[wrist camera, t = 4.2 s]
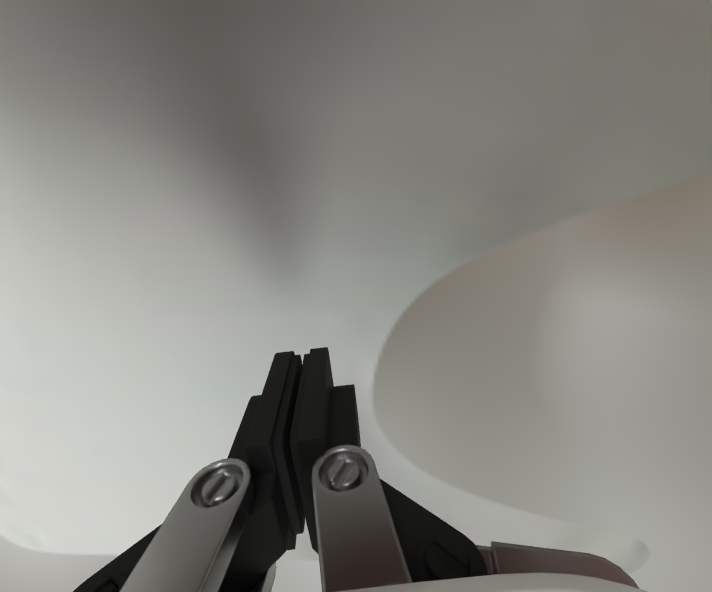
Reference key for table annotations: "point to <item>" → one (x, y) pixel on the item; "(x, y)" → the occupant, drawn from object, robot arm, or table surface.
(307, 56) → the table surface
